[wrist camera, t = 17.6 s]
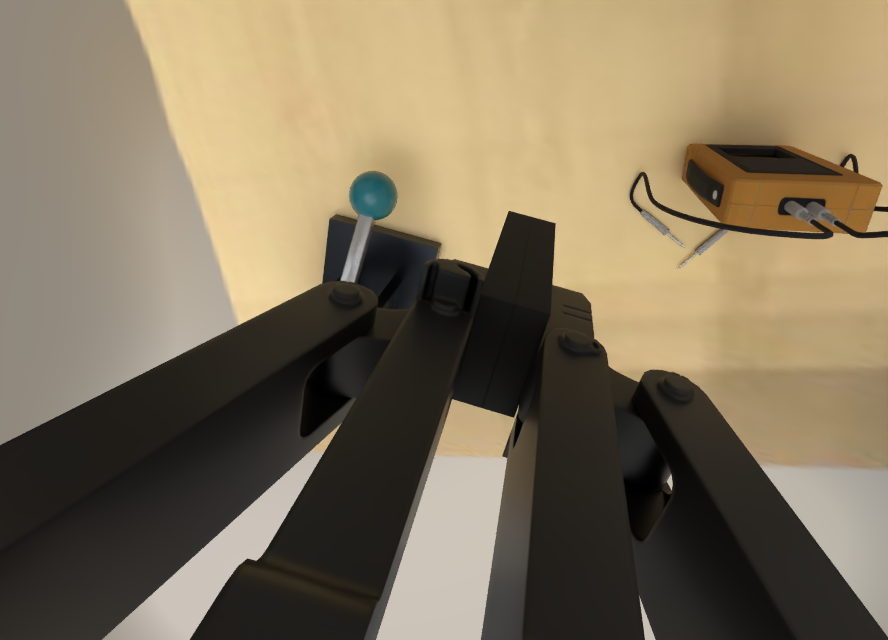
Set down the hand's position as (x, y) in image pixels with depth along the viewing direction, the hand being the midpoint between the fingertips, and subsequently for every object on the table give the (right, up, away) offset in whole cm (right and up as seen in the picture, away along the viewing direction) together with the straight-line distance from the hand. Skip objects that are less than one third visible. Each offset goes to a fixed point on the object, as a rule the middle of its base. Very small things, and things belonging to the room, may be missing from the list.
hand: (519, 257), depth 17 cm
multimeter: (+19, +7, +25) cm, 32 cm away
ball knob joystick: (-9, +2, +25) cm, 27 cm away
